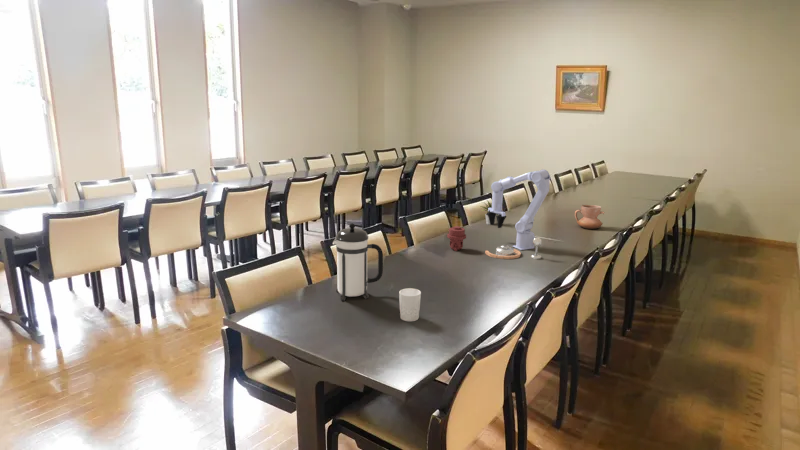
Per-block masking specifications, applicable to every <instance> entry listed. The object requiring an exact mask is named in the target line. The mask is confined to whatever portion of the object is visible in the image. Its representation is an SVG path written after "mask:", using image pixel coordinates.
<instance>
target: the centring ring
mask: <svg viewBox="0 0 800 450" xmlns="http://www.w3.org/2000/svg"><path fill="white" fill-rule="evenodd" d="M513 249H514V253H515V254H513V255H512V256H501V255H496V253H493V252H492V253H491V252H490V251H489V250H485V252H484V253H485V255H486V256H489V257H491V258H494V259H500V260H501V259H502V260H513V259H517V258H520V257H521V254H522V253H521V250H519V249H517V248H513Z"/></svg>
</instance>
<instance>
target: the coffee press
mask: <svg viewBox="0 0 800 450" xmlns="http://www.w3.org/2000/svg"><path fill="white" fill-rule="evenodd" d="M368 240H369V235H368V233H367V231H366V230H363V229H361V228H356V226H355V223H351V222H350V224H349V226H348V227H347V228H343V229H340V230H339V231H338V232H337V234H336V235H335V238H334V240H333V241H332V245H335V246H336V249H335V250H336V261H337V262H336V265H337V266H336V272H337V275H336V276H337V285H336V286H337V289H336V291H335V292H336V293H337V294H340V295H341V296H340V297H341V298H340V301H341V302H345V301H346V300H347V298H348V297H359V296H361V297H363V298H364V299H365V300H367V299H368V298H369V297H370V295H369V294H368V284H370V283H375V282H378V281H380V279H381V278H382V276H383V272H384V271H383V270H384V253H383V250H382V248H381V246H379V245H378V244H375V243H371V244H368ZM369 249H373V250H376V251H377V254H378V255H377V258H378V259H377V262H378V263H377V274H376V276H374V277H370V278H368V250H369Z"/></svg>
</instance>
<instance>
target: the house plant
mask: <svg viewBox="0 0 800 450" xmlns="http://www.w3.org/2000/svg"><path fill="white" fill-rule="evenodd" d="M486 202H487V204H486V203H485V201H484V202H483V201H482V204H483V205H485V206H480V205H479V206H480V208H482V210H481V212H482V211H485V212H486V213H485V214H484V215H485V222H486V225H490V221H489V217H488V215H487V212H489V211H488V208H492V202H490V201H488V200H486ZM496 216H497V215H496ZM496 216H495V220H497V218H496ZM495 222H496V221H495ZM495 222H494V224H495ZM490 226H491V225H490Z"/></svg>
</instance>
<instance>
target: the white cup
mask: <svg viewBox="0 0 800 450" xmlns="http://www.w3.org/2000/svg"><path fill="white" fill-rule="evenodd" d="M398 296H399V301H398V302H399V303H398V304H399V312H400V313H399V317H400V319H401V320H402V321H405V322H415V321H418V319H419V318H420V309H421V297H422V291H421V290H419V289H417V288H411V287H409V288H403V289H400V290H399V292H398Z"/></svg>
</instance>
